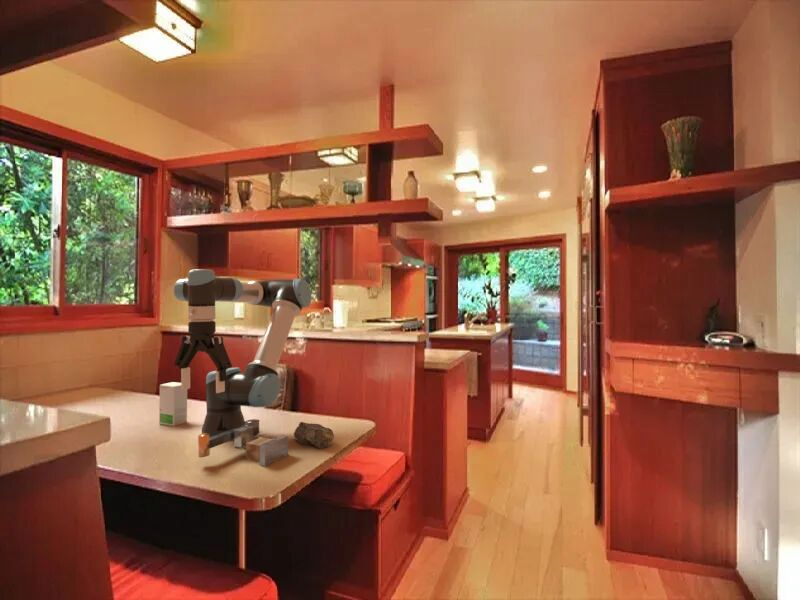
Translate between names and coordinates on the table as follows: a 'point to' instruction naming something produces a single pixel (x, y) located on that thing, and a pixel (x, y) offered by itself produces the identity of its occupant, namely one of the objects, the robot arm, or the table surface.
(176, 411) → the skincare box
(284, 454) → the grey piece
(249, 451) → the tan cardboard box
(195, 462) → the table surface
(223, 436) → the lever
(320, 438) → the rock
